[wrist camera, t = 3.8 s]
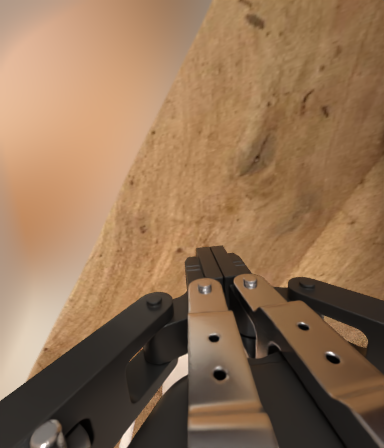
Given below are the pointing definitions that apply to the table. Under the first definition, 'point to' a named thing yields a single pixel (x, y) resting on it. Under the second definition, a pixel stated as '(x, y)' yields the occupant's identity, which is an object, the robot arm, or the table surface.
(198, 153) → the table surface
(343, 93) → the table surface
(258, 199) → the table surface
